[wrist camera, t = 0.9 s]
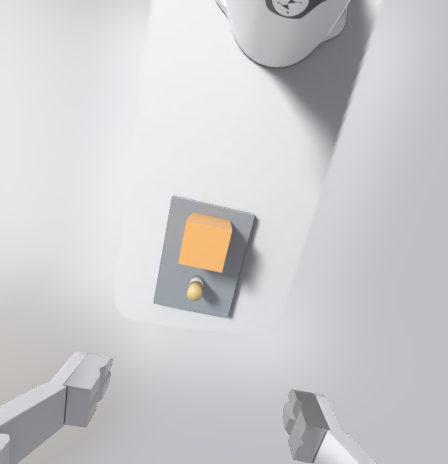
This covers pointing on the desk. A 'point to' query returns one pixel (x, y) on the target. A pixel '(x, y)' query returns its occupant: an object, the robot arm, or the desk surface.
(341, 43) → the desk surface
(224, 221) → the amber rectangular brick
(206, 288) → the plate
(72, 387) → the robot arm
